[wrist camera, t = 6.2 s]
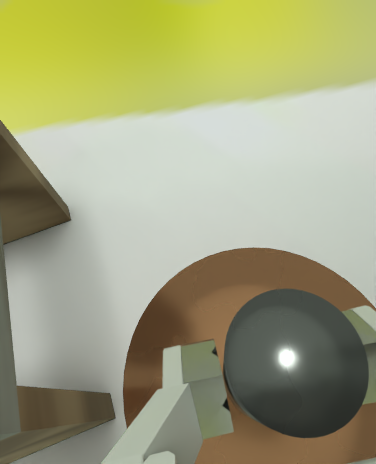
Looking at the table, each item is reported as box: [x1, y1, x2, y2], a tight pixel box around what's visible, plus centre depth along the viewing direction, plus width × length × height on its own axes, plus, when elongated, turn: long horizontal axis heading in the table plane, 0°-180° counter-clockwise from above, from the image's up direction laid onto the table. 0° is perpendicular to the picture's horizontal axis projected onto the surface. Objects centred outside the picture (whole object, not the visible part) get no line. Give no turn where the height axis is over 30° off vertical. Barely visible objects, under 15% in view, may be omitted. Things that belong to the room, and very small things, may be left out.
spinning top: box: [123, 248, 376, 464], centre depth 11 cm, size 10×10×12 cm
